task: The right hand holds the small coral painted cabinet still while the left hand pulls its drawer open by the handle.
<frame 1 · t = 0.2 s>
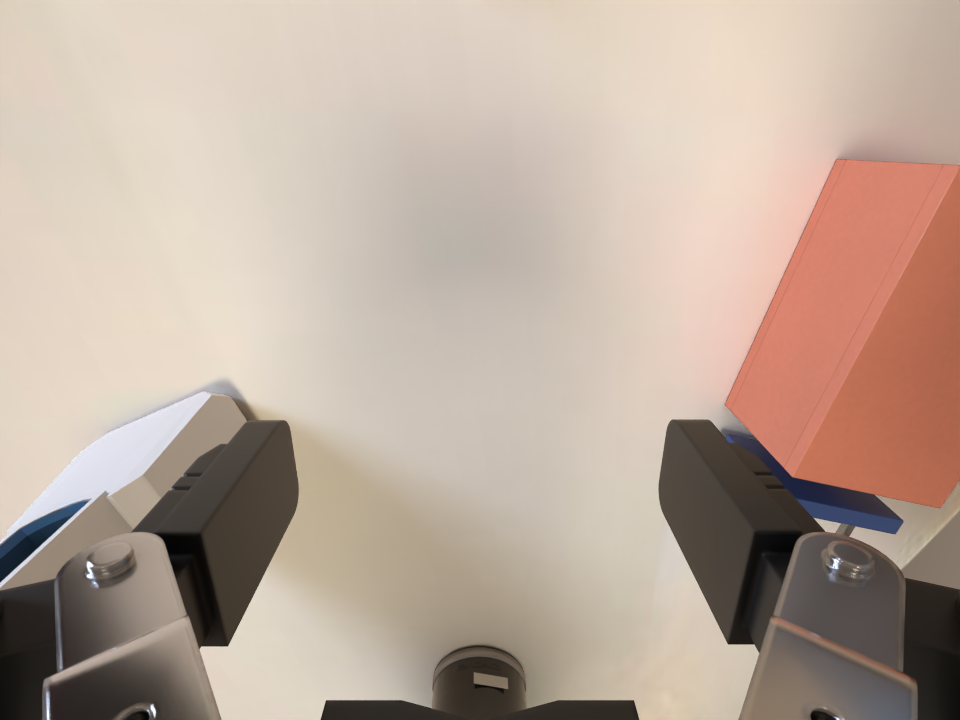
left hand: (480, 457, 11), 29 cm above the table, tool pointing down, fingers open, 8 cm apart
electronic device: (192, 440, 45), on the table
drawer: (839, 416, 38), point 5 cm above the table, slide at 2.0 cm
cabinet: (839, 308, 40), on the table
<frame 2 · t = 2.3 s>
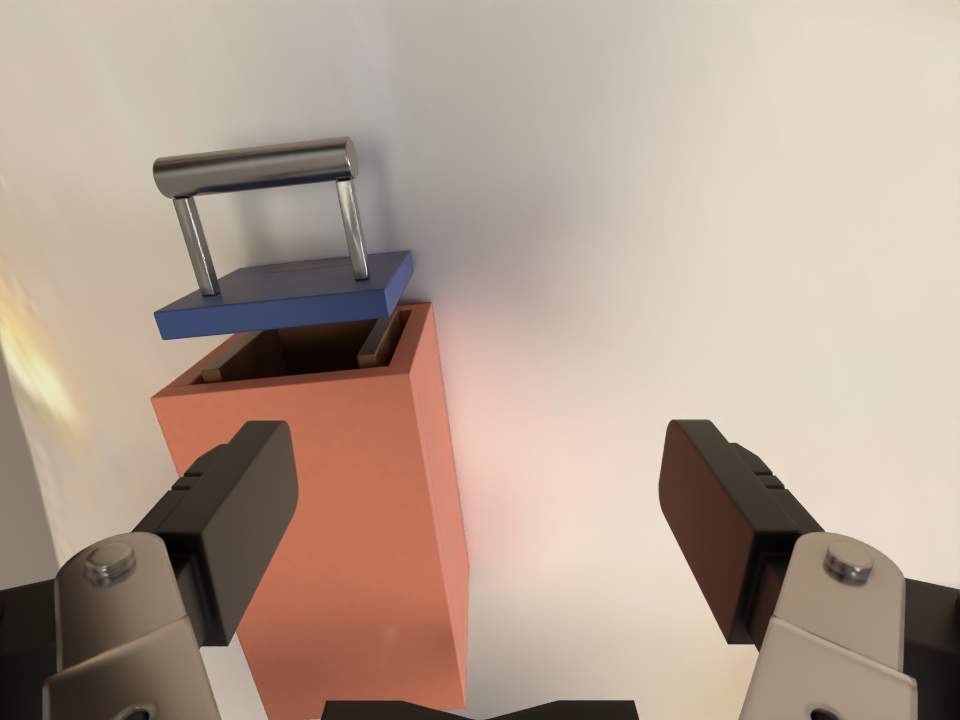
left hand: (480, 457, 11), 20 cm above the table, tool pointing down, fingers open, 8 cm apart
drawer: (327, 396, 27), point 5 cm above the table, slide at 2.0 cm
cabinet: (370, 455, 34), on the table
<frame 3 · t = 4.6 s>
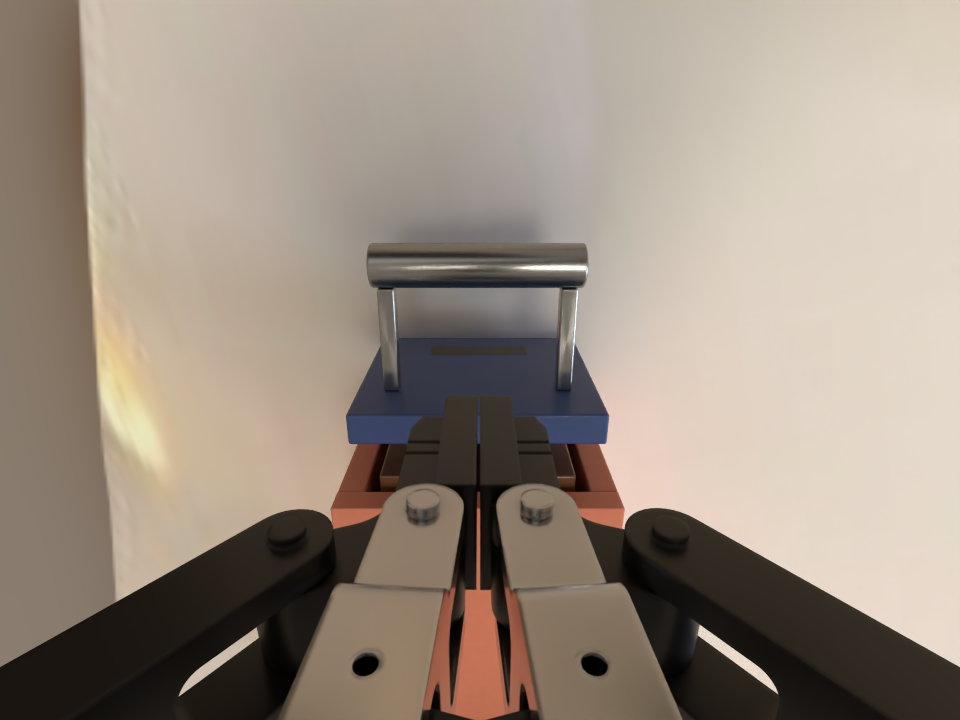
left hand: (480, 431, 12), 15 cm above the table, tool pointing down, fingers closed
drawer: (478, 491, 25), point 5 cm above the table, slide at 2.0 cm
cabinet: (478, 534, 32), on the table, touching right hand
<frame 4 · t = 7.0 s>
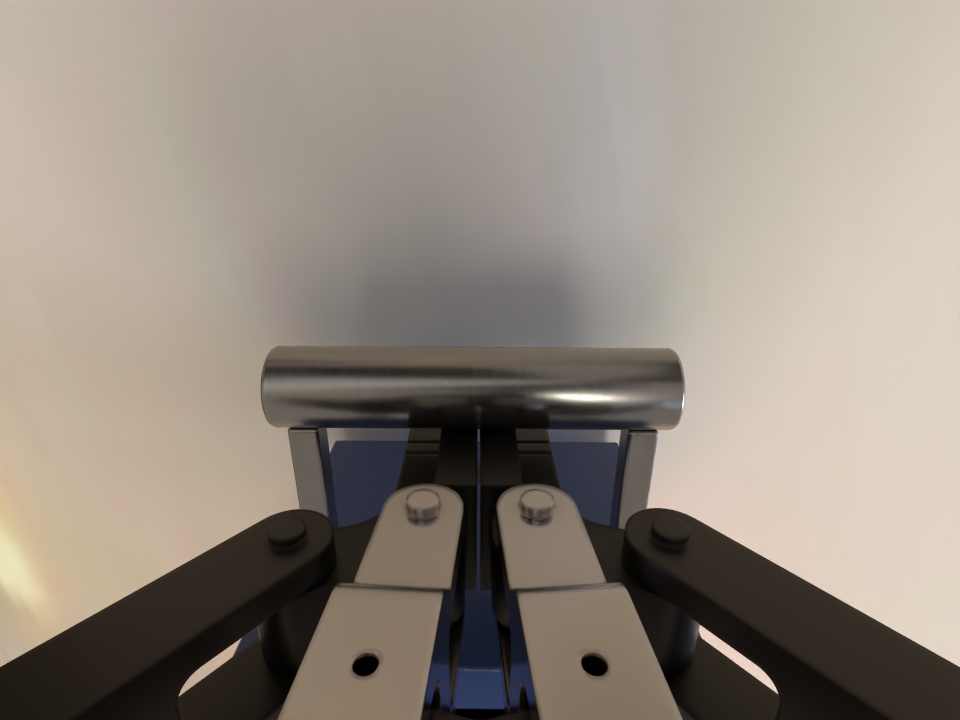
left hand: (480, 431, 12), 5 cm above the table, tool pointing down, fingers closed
drawer: (474, 685, 16), point 5 cm above the table, slide at 2.4 cm, touching left hand
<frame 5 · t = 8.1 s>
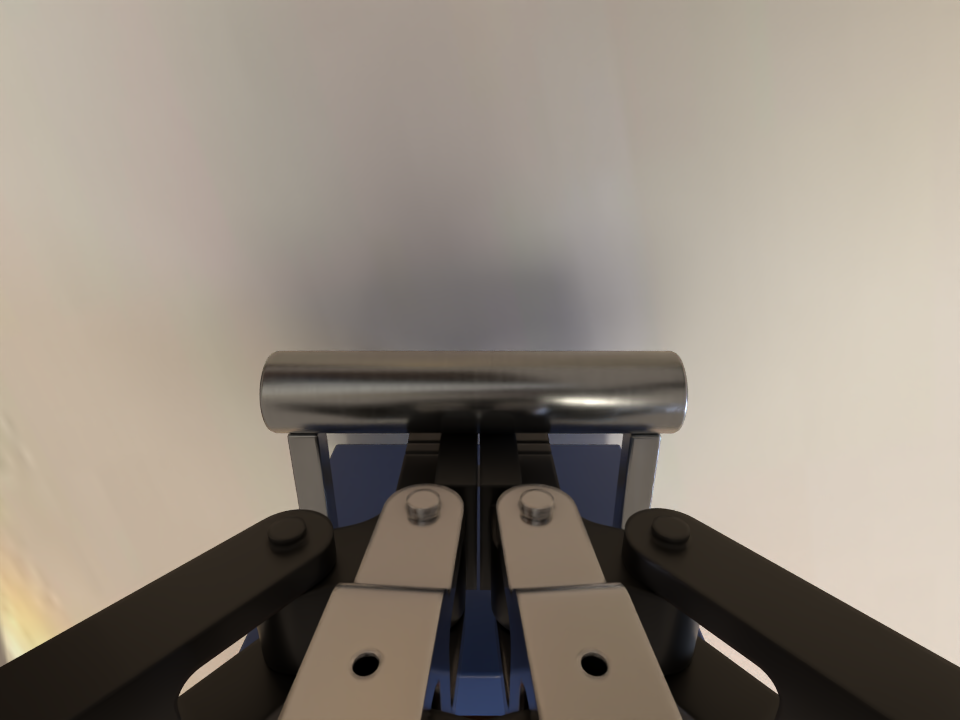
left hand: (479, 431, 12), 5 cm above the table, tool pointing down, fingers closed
drawer: (477, 690, 16), point 5 cm above the table, slide at 8.8 cm, touching left hand
when the right hand's fingers open (5 cm above the table, at t = 10.1 s): cabinet stays where it is, on the table.
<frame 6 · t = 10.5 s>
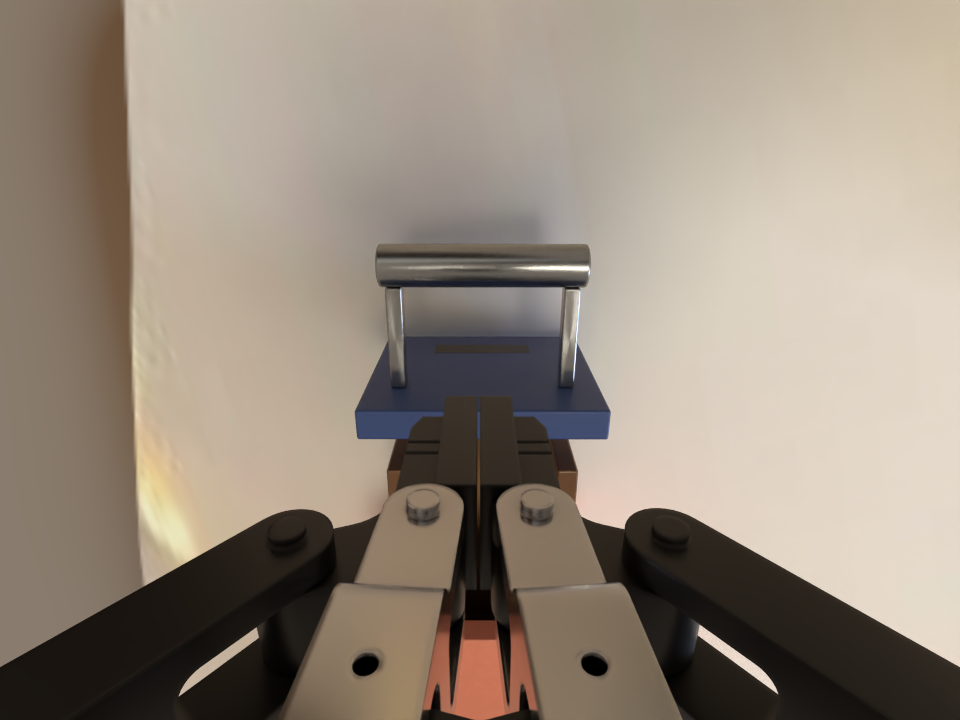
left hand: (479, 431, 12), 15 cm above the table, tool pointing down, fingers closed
drawer: (481, 487, 25), point 5 cm above the table, slide at 8.9 cm
cabinet: (481, 614, 35), on the table
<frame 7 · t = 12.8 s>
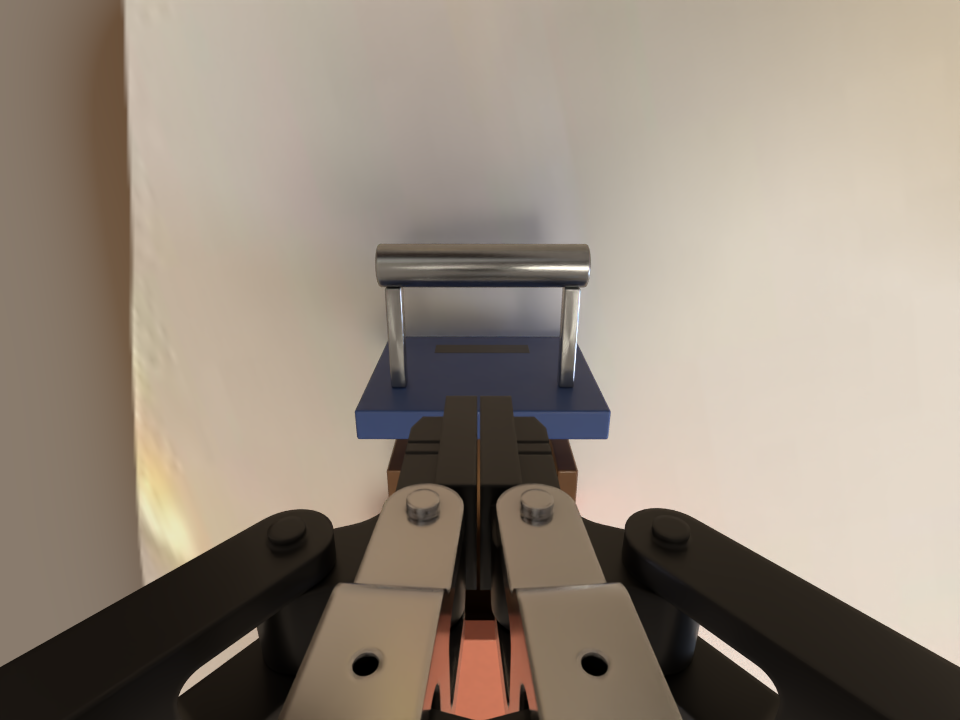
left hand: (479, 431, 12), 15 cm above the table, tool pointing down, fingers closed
drawer: (481, 487, 25), point 5 cm above the table, slide at 8.9 cm
cabinet: (481, 614, 35), on the table
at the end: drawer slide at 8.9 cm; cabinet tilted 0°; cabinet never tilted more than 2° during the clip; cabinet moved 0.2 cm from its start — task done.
